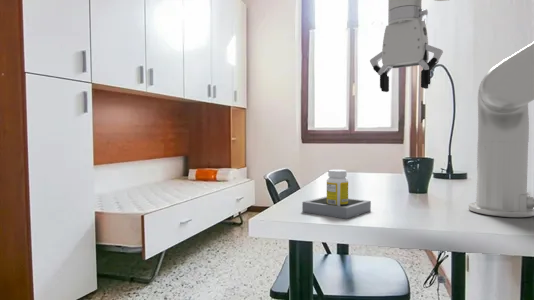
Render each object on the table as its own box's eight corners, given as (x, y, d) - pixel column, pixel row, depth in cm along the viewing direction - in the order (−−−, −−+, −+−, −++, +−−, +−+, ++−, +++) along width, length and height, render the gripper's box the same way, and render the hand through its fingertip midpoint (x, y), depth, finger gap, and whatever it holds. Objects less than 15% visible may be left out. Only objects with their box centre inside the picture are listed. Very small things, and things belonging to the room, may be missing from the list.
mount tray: (370, 210, 86) (370, 201, 86) (346, 218, 78) (346, 208, 78) (328, 204, 93) (328, 196, 93) (302, 211, 85) (302, 201, 85)
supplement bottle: (346, 205, 87) (347, 169, 87) (349, 210, 83) (349, 171, 82) (325, 205, 88) (326, 169, 88) (327, 209, 83) (327, 171, 83)
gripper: (447, 14, 89) (446, 88, 90) (377, 28, 100) (377, 93, 101) (437, 6, 83) (436, 85, 84) (364, 22, 95) (364, 91, 95)
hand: (404, 89), depth 92 cm, fingers open, 9 cm apart
